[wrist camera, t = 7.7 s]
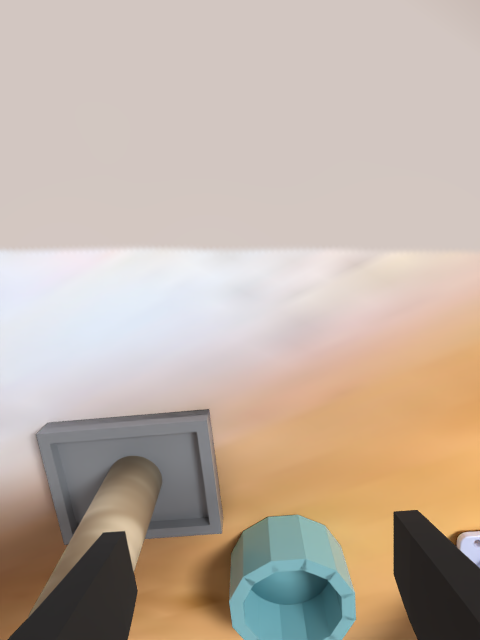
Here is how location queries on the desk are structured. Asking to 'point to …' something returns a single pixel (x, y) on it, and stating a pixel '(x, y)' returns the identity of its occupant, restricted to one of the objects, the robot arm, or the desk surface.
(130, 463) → the pin
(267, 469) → the desk surface
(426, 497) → the desk surface
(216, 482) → the tray
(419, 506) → the desk surface
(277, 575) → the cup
